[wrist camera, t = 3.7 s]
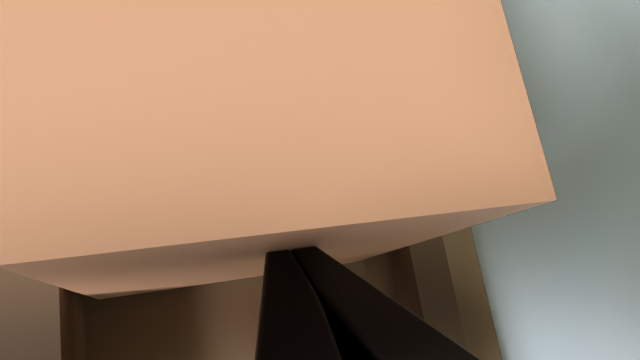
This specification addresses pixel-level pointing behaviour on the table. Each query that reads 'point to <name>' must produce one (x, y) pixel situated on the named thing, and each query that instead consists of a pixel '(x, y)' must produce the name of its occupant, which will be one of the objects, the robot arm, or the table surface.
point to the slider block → (251, 134)
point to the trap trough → (235, 310)
